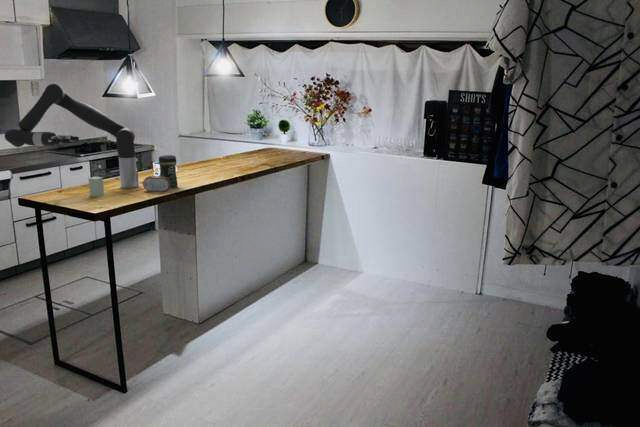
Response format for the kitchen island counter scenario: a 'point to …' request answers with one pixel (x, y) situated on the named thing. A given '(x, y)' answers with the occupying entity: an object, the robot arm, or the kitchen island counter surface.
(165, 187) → the tin
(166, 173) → the coffee jar
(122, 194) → the kitchen island counter surface
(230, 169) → the kitchen island counter surface
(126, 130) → the robot arm
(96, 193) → the sage block
